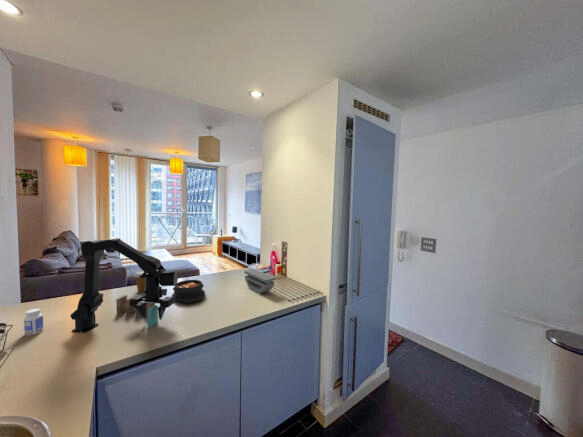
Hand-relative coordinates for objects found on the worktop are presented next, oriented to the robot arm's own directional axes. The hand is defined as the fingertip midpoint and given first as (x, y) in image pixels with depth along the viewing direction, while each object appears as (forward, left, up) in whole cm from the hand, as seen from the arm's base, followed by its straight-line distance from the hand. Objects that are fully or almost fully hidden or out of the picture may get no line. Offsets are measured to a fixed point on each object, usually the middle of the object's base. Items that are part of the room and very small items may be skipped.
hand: (152, 318), depth 107 cm
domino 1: (+10, +23, -3) cm, 25 cm away
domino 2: (+10, +18, -3) cm, 21 cm away
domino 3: (+10, +13, -3) cm, 17 cm away
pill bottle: (-11, +45, -3) cm, 46 cm away
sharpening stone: (+48, -41, -3) cm, 63 cm away
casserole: (+32, -1, -3) cm, 32 cm away
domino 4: (+10, +8, -3) cm, 13 cm away
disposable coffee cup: (+39, +32, -3) cm, 51 cm away
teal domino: (0, 0, -3) cm, 3 cm away
